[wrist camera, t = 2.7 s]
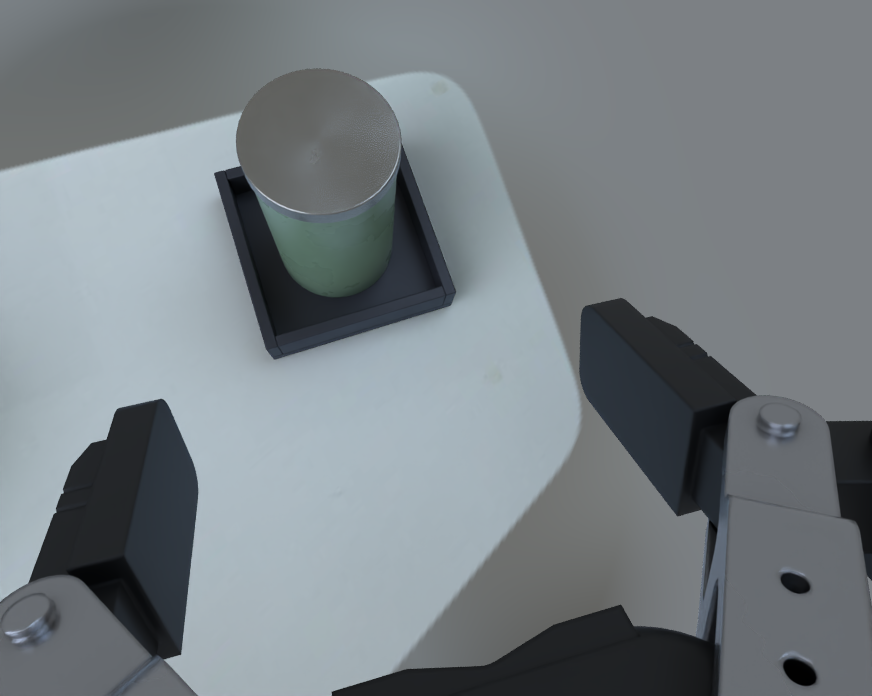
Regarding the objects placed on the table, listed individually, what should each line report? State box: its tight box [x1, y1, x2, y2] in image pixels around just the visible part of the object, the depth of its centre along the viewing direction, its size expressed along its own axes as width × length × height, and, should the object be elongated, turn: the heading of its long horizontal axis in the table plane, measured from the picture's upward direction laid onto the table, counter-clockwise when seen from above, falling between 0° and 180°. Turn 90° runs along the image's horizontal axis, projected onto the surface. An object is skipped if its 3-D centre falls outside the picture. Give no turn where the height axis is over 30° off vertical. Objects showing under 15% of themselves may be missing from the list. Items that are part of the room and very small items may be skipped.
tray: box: [214, 143, 456, 359], centre depth 29 cm, size 9×9×2 cm
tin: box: [236, 69, 401, 297], centre depth 25 cm, size 5×5×9 cm
